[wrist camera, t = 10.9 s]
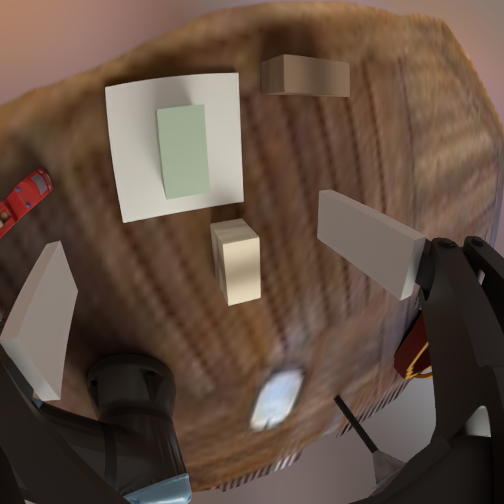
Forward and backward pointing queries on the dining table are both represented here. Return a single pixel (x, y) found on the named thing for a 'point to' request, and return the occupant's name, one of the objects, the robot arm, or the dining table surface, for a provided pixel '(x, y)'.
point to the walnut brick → (305, 76)
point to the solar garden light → (373, 450)
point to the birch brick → (236, 260)
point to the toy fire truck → (23, 198)
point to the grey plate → (146, 147)
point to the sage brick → (182, 150)
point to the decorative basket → (414, 353)
